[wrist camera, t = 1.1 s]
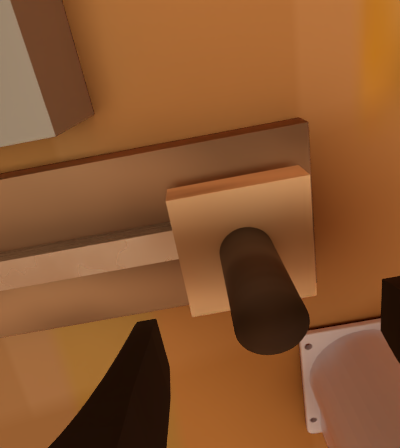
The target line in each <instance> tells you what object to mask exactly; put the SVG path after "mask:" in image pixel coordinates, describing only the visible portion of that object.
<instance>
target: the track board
mask: <svg viewBox="0 0 400 448" xmlns="http://www.w3.org/2000/svg"><path fill="white" fill-rule="evenodd" d="M295 165H299V166H300V167H302V168H303V169H304V170H305V171H306V172H307V173H309V174H310V183H311V165H310V146H309V128H308V122H307V121H305V120H303V119H300V118H295V119H289V120H284V121H279V122H273V123H268V124H263V125H257V126H252V127H247V128H242V129H236V130H231V131H226V132H220V133H215V134H210V135H204V136H199V137H194V138H188V139H183V140H178V141H172V142H167V143H162V144H156V145H151V146H146V147H141V148H135V149H130V150H125V151H119V152H114V153H109V154H103V155H98V156H93V157H87V158H82V159H77V160H71V161H66V162H61V163H56V164H50V165H45V166H40V167H34V168H29V169H24V170H18V171H13V172H8V173H2V174H0V252H5V251H10V250H16V249H21V248H27V247H32V246H38V245H43V244H49V243H54V242H60V241H65V240H71V239H76V238H82V237H87V236H93V235H98V234H104V233H109V232H115V231H120V230H126V229H131V228H137V227H142V226H148V225H153V224H159V223H164V222H170V218H169V214H168V209H167V205H166V194H167V189H171V188H176V187H181V186H187V185H192V184H198V183H203V182H209V181H214V180H219V179H225V178H230V177H236V176H241V175H246V174H252V173H257V172H263V171H268V170H274V169H279V168H284V167H290V166H295ZM311 201H312V183H311ZM312 219H313V202H312ZM313 237H314V220H313ZM314 255H315V238H314ZM315 273H316V257H315ZM316 283H317V275H316ZM185 305H189V301H188V296H187V292H186V288H185V283H184V279H183V275H182V270H181V266H180V262H179V259H176V260H171V261H165V262H159V263H154V264H148V265H143V266H137V267H132V268H126V269H120V270H115V271H109V272H104V273H98V274H92V275H87V276H81V277H76V278H70V279H64V280H59V281H53V282H48V283H42V284H36V285H31V286H25V287H20V288H14V289H8V290H3V291H0V338H2V337H8V336H14V335H19V334H25V333H31V332H37V331H42V330H48V329H54V328H59V327H65V326H71V325H77V324H82V323H88V322H94V321H99V320H105V319H111V318H117V317H122V316H128V315H134V314H139V313H145V312H151V311H157V310H162V309H168V308H174V307H179V306H185Z"/></svg>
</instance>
